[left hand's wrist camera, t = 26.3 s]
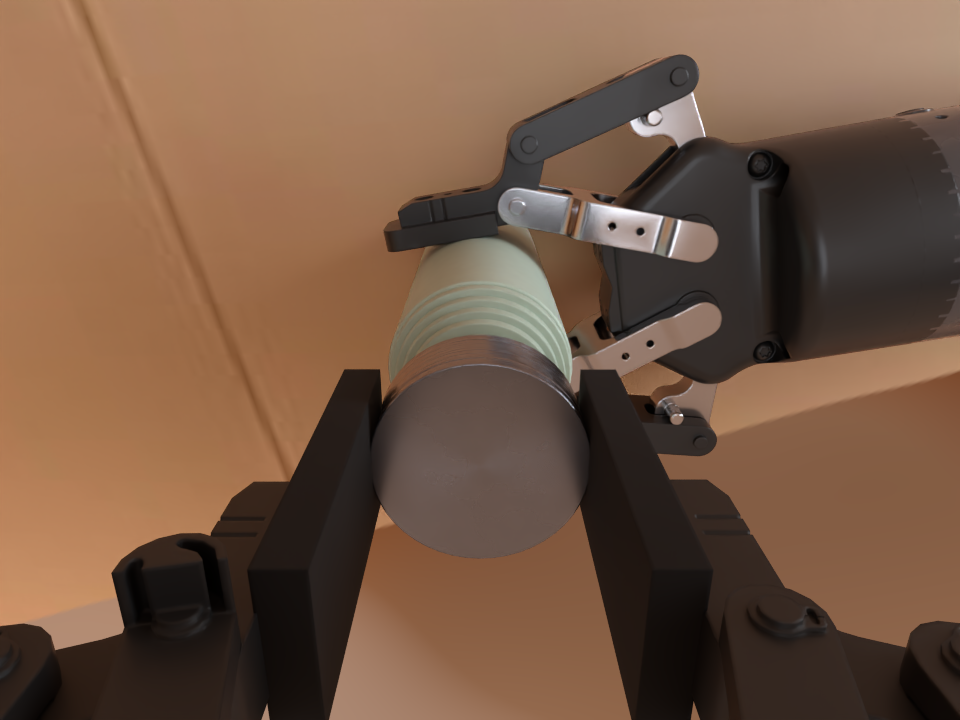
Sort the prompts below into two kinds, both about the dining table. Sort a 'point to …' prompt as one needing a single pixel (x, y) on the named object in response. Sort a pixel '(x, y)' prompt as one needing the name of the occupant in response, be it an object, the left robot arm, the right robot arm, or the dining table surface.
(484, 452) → the cap
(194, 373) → the dining table surface
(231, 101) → the dining table surface
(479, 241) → the bottle
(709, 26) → the dining table surface
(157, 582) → the left robot arm
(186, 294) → the dining table surface
